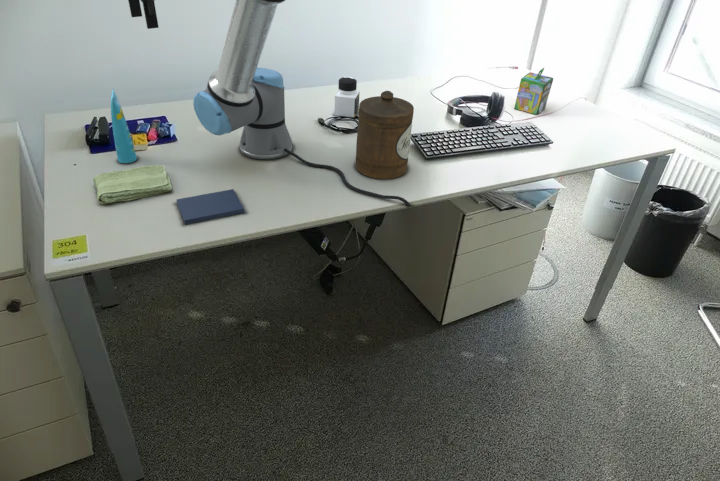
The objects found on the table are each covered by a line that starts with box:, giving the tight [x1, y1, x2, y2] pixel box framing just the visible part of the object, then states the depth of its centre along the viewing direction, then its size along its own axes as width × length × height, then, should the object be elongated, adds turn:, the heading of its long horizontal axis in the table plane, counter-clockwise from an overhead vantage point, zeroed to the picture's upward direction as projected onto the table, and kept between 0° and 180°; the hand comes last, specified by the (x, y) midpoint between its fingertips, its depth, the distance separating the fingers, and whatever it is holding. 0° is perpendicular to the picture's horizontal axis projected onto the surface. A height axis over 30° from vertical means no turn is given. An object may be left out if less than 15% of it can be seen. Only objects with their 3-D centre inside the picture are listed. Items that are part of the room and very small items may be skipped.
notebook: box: [175, 188, 245, 225], centre depth 126 cm, size 14×10×1 cm
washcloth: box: [92, 164, 173, 205], centre depth 131 cm, size 13×18×3 cm
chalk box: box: [513, 67, 554, 116], centre depth 187 cm, size 9×9×15 cm
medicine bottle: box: [333, 76, 360, 119], centre depth 176 cm, size 7×7×12 cm
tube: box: [110, 87, 138, 164], centre depth 139 cm, size 7×5×19 cm, turn 26°
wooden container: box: [355, 90, 415, 180], centre depth 142 cm, size 15×15×22 cm
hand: (144, 22), depth 139 cm, fingers open, 13 cm apart
